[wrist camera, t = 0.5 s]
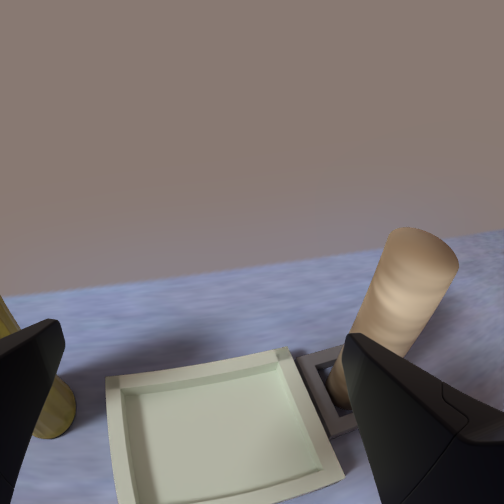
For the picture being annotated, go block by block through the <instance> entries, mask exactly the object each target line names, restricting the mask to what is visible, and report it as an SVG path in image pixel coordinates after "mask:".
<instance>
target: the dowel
mask: <svg viewBox="0 0 504 504" xmlns="http://www.w3.org/2000/svg"><path fill="white" fill-rule="evenodd" d="M458 269H459V263H458V259H457V257H456V255H455V253H454V252H453V251H452V249H451V248H450V247H449V246H448V245H447V244H446V243H445V242H443V241H442V240H441V239H439V238H438V237H436V236H434V235H432V234H431V233H428V232H426V231H423V230H420V229H416V228H410V227H403V228H398V229H395V230H393V231H392V232H391V233H390V234H389V236H388V239H387V242H386V244H385V247H384V250H383V253H382V255H381V258H380V261H379V263H378V266H377V268H376V271H375V273H374V276H373V279H372V281H371V283H370V286H369V288H368V291H367V293H366V296H365V298H364V300H363V303H362V305H361V307H360V310H359V312H358V314H357V317H356V319H355V321H354V323H353V326H352V328H351V330H350V332H349V333H362V334H364V335H365V336H367V337H369V338H370V339H372V340H374V341H375V342H377V343H379V344H380V345H382V346H384V347H385V348H387V349H389V350H390V351H392V352H394V353H395V354H397V355H399V356H401V357H402V358H404V356H405V355H406V354H407V352H408V351H409V349H410V348H411V346H412V345H413V344H414V342H415V341H416V339H417V338H418V336H419V335H420V333H421V332H422V330H423V329H424V327H425V326H426V324H427V322H428V321H429V319H430V318H431V316H432V315H433V313H434V311H435V310H436V308H437V306H438V305H439V303H440V301H441V300H442V298H443V296H444V295H445V293H446V291H447V289H448V288H449V286H450V284H451V282H452V281H453V279H454V277H455V275H456V273H457V271H458ZM343 348H344V345H343V347H342V349H341V351H340V353H339V356H338V358H337V360H336V362H335V364H334V366H333V368H332V370H331V372H330V374H329V376H328V378H327V380H326V383H325V388H326V391H327V393H328V395H329V397H330V399H331V401H332V403H333V404H334V405H336V406H337V407H339V408H341V409H344V410H352V407H351V404H350V400H349V395H348V390H347V385H346V380H345V375H344V371H343V366H342V360H341V357H342V352H343Z"/></svg>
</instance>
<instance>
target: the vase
mask: <svg viewBox="0 0 504 504" xmlns="http://www.w3.org/2000/svg"><path fill="white" fill-rule="evenodd" d="M20 330H21V329H20V327H19V325H18V324H17V322H16V321H15V319H14V317H13V316H12V314H11V313H10V311H9V309H8V308H7V306H6V304H5V303H4V301H3V299H2V297H1V295H0V339H1V338H3V337H6V336H8V335H10V334H13V333H15V332H17V331H20ZM75 412H76V403H75V398H74V395H73V392H72V391H71V389H70V388H69V386H68V385H67V384H66V383H65V382H63V381H62V380H61V379H60V378H59V377H58V376H57V375H56V376H55V379H54V382H53V385H52V387H51V390H50V392H49V394H48V397H47V399H46V401H45V404H44V406H43V409H42V411H41V413H40V416H39V418H38V421H37V423H36V426H35V429H34V431H33V434H32V435H33V436H35V437H37V438H41V439H51V438H55V437H57V436H59V435H61V434H62V433H64V432H65V431H66V430H67V429H68V428H69V426H70V425H71V423H72V421H73V419H74V416H75Z"/></svg>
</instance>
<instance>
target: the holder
mask: <svg viewBox="0 0 504 504" xmlns="http://www.w3.org/2000/svg"><path fill="white" fill-rule="evenodd" d="M343 345H344V344H343ZM343 345H340V346H336V347H333V348H329V349H326V350H322V351H319V352H315V353H311V354H308V355H304V356H300V357H296V360H295V365H296V367H297V369H298V372H299V374H300V376H301V378H302V381H303V383H304V385H305V387H306V390H307V392H308V394H309V396H310V399H311V401H312V403H313V405H314V408H315V410H316V412H317V414H318V417H319V419H320V421H321V423H322V426H323V428H324V430H325V432H326V435H327V437H328V439H332V438H335V437H338V436H340V435H343V434H345V433H348V432H350V431H353V430H355V429H358V425H357V422H356V419H355V416H354V413H350V414H348V415H345V416H342V417H340V418H339V416H338V414H337V412H336V409H335V407H334V405H333V403H332V401H331V399H330V397H329V395H328V393H327V391H326V388H325V386H324V384H323V382H322V380H321V378H320V376H319V374H318V372H317V371H318V370H321V369H324V368H328V367H331V366H334V364H335V362H336V360H337V358H338V356H339V353H340V351H341V349H342V347H343Z"/></svg>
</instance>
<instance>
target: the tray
mask: <svg viewBox="0 0 504 504" xmlns="http://www.w3.org/2000/svg"><path fill="white" fill-rule="evenodd" d="M105 387H106V407H107V421H108V432H109V442H110V451H111V460H112V467H113V474H114V481H115V487H116V493H117V499H118V504H277V503H280V502H284V501H287V500H290V499H293V498H296V497H300V496H303V495H305V494H308V493H311V492H314V491H317V490H320V489H322V488H325V487H328V486H330V485H333V484H335V483H337V482H339V481H341V480H343V479H344V478H346V477H345V475H344V473H343V470H342V468H341V466H340V464H339V461H338V459H337V457H336V455H335V453H334V450H333V448H332V446H331V444H330V441H329V439H328V437H327V435H326V432H325V430H324V428H323V426H322V423H321V421H320V419H319V417H318V414H317V412H316V410H315V408H314V405H313V403H312V401H311V399H310V396H309V394H308V392H307V390H306V387H305V385H304V383H303V381H302V378H301V376H300V374H299V372H298V369H297V367H296V365H295V363H294V360H293V358H292V356H291V353H290V351H289V349H288V347H282V348H278V349H274V350H269V351H265V352H260V353H255V354H251V355H246V356H241V357H236V358H231V359H226V360H220V361H215V362H209V363H204V364H198V365H192V366H186V367H179V368H173V369H166V370H159V371H152V372H144V373H136V374H127V375H118V376H109V377H105Z"/></svg>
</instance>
